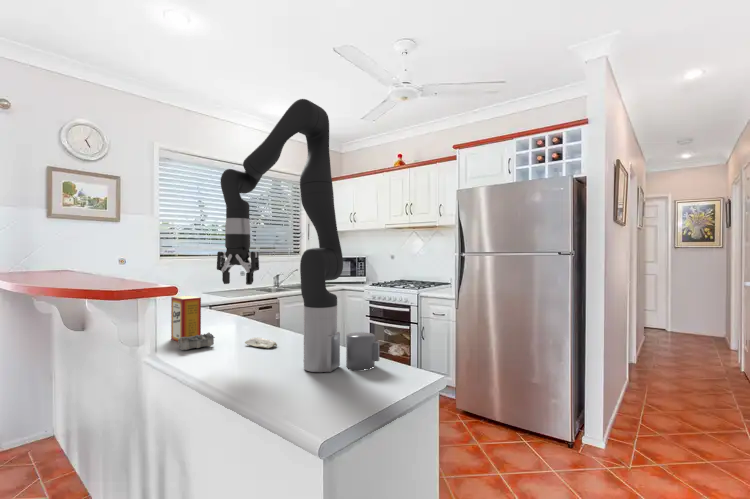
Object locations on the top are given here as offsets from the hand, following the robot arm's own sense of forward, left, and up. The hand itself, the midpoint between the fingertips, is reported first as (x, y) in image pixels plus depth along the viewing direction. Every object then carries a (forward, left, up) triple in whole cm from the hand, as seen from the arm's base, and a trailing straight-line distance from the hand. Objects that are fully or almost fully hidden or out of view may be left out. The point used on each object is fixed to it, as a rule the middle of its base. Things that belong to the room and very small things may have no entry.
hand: (237, 284), depth 125 cm
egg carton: (+15, -1, -23) cm, 27 cm away
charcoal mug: (-42, +1, -22) cm, 47 cm away
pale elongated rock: (-2, -9, -23) cm, 25 cm away
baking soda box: (+30, -10, -22) cm, 39 cm away
